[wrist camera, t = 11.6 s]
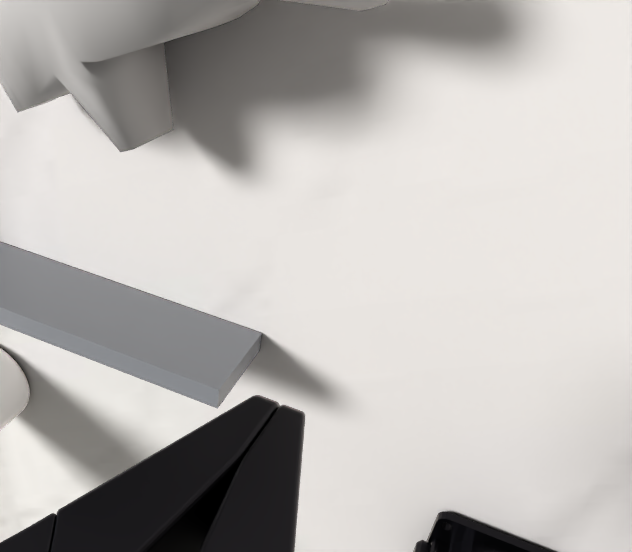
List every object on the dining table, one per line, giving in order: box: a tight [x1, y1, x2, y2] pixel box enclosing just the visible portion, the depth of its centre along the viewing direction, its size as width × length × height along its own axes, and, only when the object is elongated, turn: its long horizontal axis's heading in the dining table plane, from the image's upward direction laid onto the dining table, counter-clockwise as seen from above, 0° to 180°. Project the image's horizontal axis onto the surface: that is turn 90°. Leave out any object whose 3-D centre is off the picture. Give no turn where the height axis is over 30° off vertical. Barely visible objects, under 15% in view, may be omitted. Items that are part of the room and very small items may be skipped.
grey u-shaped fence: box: [0, 242, 262, 408], centre depth 21 cm, size 20×24×4 cm
